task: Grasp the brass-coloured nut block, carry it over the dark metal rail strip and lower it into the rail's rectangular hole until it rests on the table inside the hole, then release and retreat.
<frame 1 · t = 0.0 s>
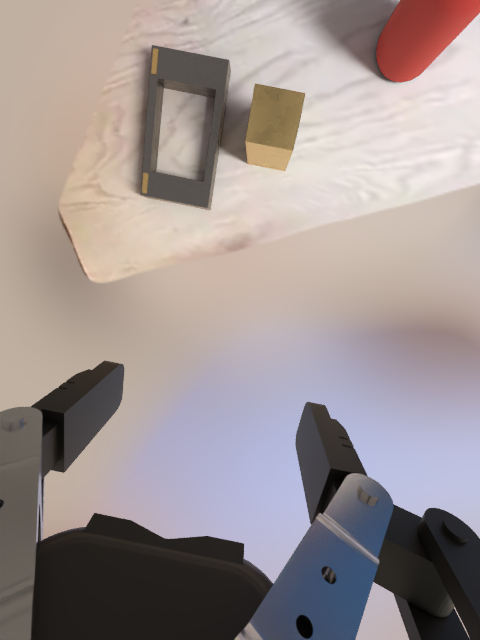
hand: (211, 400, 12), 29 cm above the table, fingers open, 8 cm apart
beer can: (402, 52, 31), on the table
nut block: (270, 146, 34), on the table
rail: (185, 138, 35), on the table
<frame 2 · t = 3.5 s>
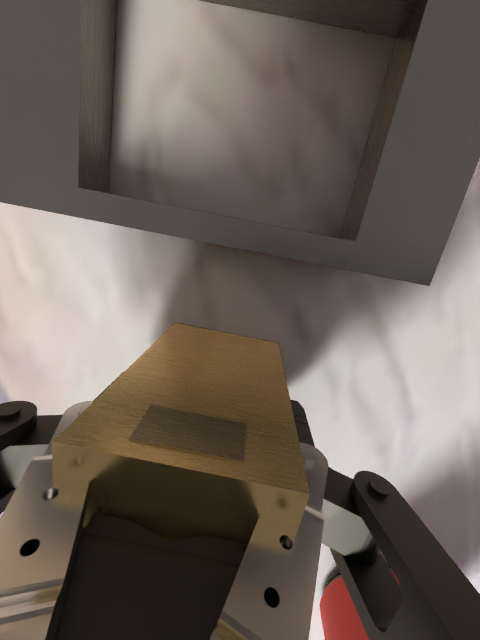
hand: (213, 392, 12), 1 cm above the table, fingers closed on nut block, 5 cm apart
beer can: (368, 592, 17), on the table
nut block: (218, 379, 13), on the table, touching gripper
rail: (238, 125, 10), on the table
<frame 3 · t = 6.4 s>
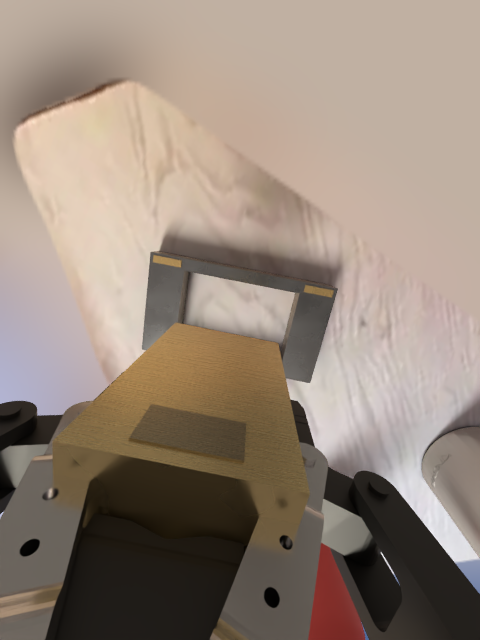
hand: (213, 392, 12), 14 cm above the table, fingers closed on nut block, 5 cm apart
beer can: (305, 523, 32), on the table
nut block: (218, 378, 13), point 13 cm above the table, touching gripper
rail: (236, 315, 26), on the table
when the fingers open (2 cm above the table, at t = 9.2 s): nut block stays where it is, resting in rail.
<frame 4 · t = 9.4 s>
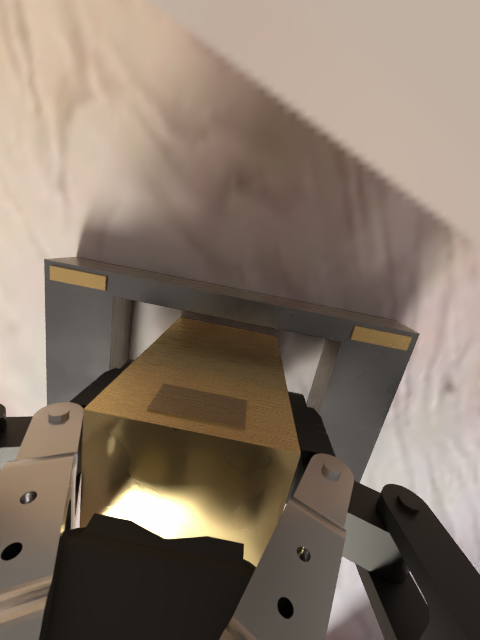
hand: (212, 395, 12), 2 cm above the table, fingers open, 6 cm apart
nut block: (220, 370, 14), resting in rail
rail: (219, 370, 14), on the table
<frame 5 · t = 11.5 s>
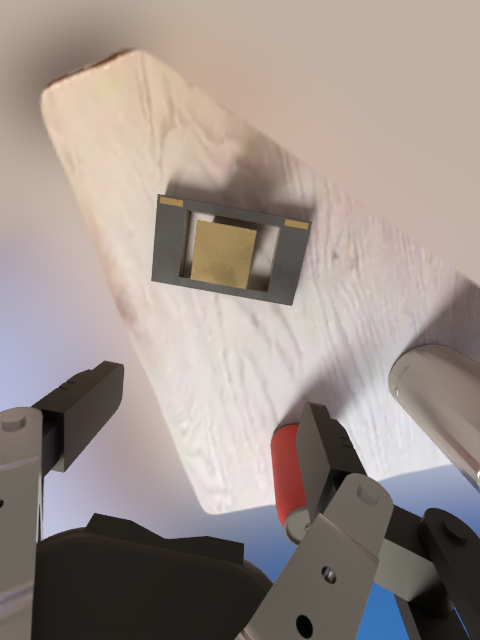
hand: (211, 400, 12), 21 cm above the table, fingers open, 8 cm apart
beer can: (293, 440, 38), on the table
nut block: (229, 251, 31), resting in rail
rail: (229, 251, 31), on the table
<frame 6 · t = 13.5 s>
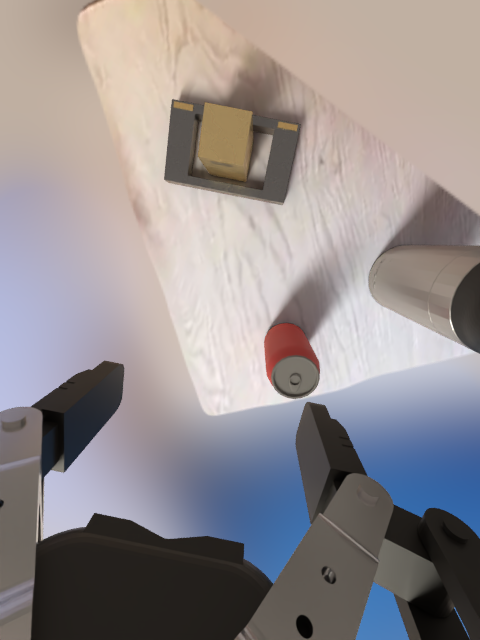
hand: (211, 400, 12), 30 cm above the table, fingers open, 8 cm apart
beer can: (284, 341, 43), on the table
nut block: (231, 158, 36), resting in rail
rail: (231, 157, 36), on the table
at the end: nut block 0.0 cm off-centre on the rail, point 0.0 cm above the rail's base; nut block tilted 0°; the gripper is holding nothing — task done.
